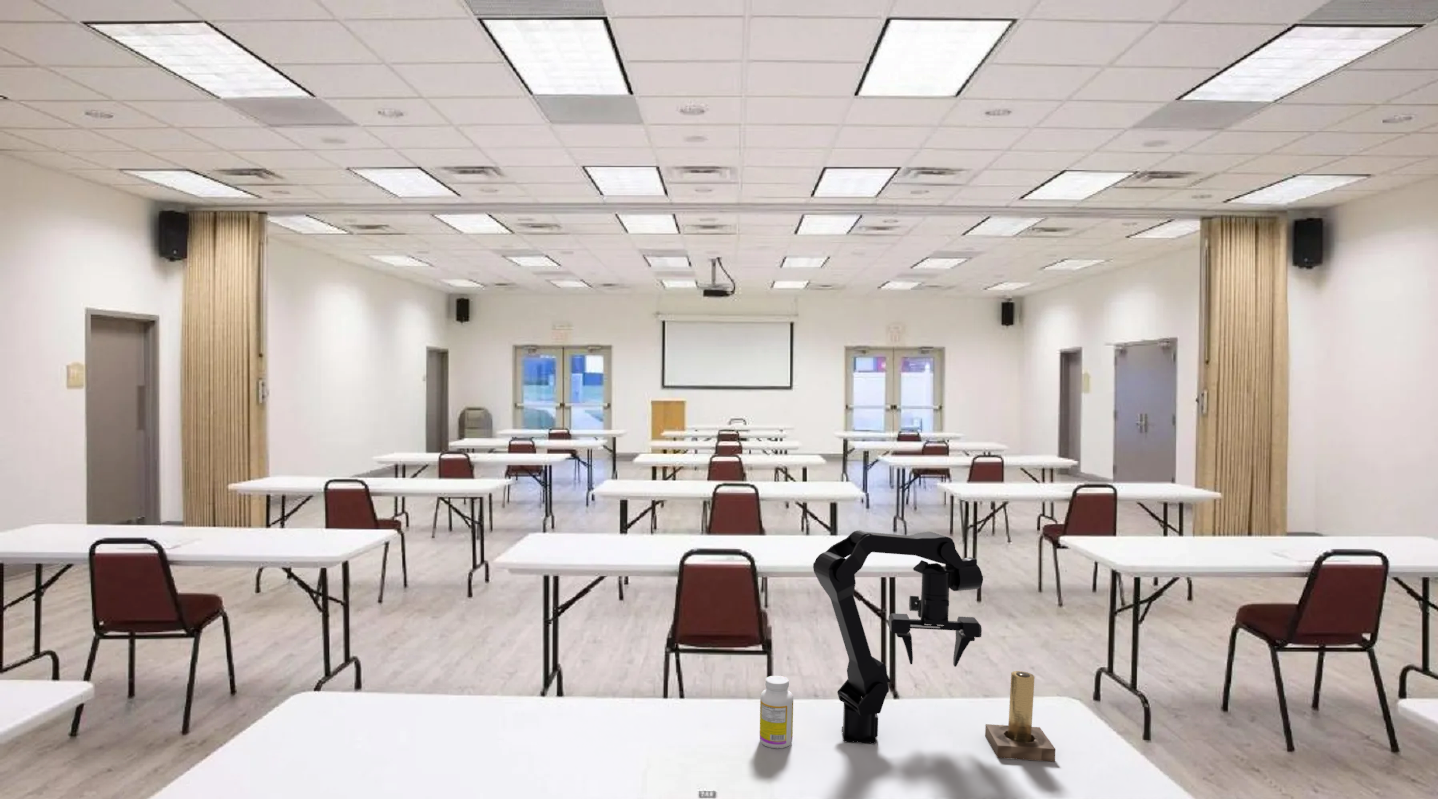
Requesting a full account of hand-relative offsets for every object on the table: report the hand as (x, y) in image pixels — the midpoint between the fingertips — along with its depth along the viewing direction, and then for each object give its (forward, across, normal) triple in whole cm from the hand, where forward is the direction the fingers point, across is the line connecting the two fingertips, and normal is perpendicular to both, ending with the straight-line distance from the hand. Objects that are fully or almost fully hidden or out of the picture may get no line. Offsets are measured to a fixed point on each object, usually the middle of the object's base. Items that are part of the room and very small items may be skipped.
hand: (932, 664), depth 177 cm
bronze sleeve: (+13, -16, +9) cm, 22 cm away
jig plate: (+13, -16, +9) cm, 22 cm away
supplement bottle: (+13, +33, +13) cm, 38 cm away
